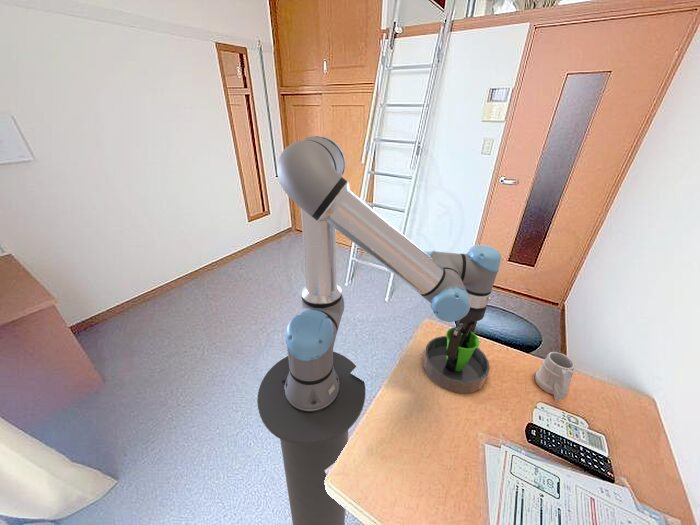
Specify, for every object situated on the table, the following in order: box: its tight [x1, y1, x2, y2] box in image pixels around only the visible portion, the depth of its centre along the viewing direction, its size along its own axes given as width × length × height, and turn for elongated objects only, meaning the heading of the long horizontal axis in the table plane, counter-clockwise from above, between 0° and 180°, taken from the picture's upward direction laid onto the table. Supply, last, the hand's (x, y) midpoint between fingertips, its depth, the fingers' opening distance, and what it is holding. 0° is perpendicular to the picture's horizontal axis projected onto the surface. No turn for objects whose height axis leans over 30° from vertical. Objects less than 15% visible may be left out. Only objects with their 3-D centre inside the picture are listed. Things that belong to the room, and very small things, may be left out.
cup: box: [445, 327, 480, 371], centre depth 84 cm, size 9×9×11 cm
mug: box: [534, 351, 576, 402], centre depth 79 cm, size 8×12×12 cm, turn 161°
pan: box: [422, 335, 491, 394], centre depth 87 cm, size 18×18×4 cm
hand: (454, 363), depth 87 cm, fingers closed on cup, 5 cm apart
